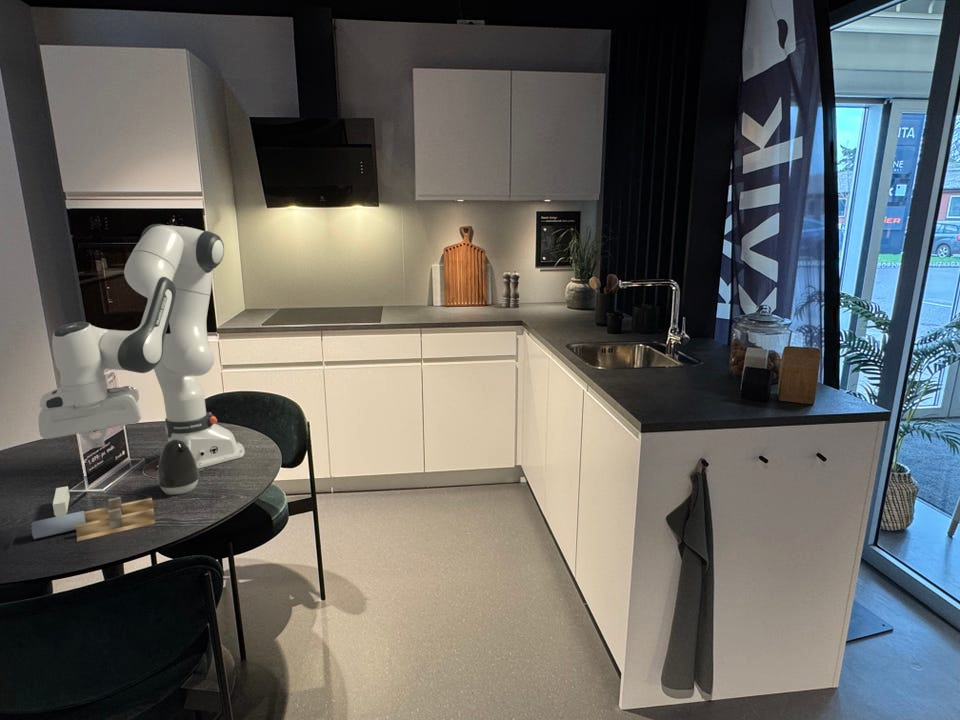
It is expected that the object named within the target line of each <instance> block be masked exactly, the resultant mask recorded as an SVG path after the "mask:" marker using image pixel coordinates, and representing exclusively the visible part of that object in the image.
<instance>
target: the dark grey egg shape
mask: <svg viewBox="0 0 960 720" xmlns="http://www.w3.org/2000/svg"><path fill="white" fill-rule="evenodd" d="M199 478H200V472H199V469H198V467H197V464H196V461H195V459H194V457H193V455H192V453H191V451H190V449H189V448H188V446H187V445H186V444H185V443H184V442H183V441H181V440H171V441H169V442H166V443H165V444H164V446H163V448H162V450H161V453H160V457H159V461H158V467H157V485H158V486H159V487H160V489H161V491H163V493H165V494H166V495H171V496H173V495H174V496H175V495H181V494H182V495H183V494H185V493H189V492H191V491H193V490H194V489H195V488H196V486H197V485H198V483H199Z"/></svg>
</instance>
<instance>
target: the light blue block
mask: <svg viewBox="0 0 960 720" xmlns="http://www.w3.org/2000/svg"><path fill="white" fill-rule="evenodd" d="M84 512H85V511H84V510H82V511H76V512H72V513H66V515H62V516H57V517H56V516H53V517H50V518H49V517H48V518H43V519H40V520H35V521H32V522H31V524H30V525H31V526H30V527H31V535H32V538H33V540H37V539H40V538H41V539H42V538H45V537H50V536H54V535H59V534H64V533H67V532H71V531H76V525H79V524H84V523H86V519H85V514H84Z"/></svg>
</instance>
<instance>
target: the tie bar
mask: <svg viewBox="0 0 960 720" xmlns="http://www.w3.org/2000/svg"><path fill="white" fill-rule="evenodd" d="M70 495H71V494H70V490H69V486H68V485H67V486H62V487H56V488H55V493H54V498H53V501H52V508H53V514H54V517H57V516H62V515H66V514H68V508H69V505H70V504H69V502H70Z"/></svg>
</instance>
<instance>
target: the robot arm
mask: <svg viewBox="0 0 960 720" xmlns="http://www.w3.org/2000/svg"><path fill="white" fill-rule="evenodd" d="M224 255H225V245H224V242H223V240H222V239H221V237H220V236H219V235H218V234H217V233H214V232H212V231H208V230H201V229H198V228H194V227H189V226H180V225H179V226H178V225H177V226H176V225H167V224H166V225H165V224H163V223H153V224H151V225H148V226H147V227H146V228H144V230H143V232H142V233H141V236H140V239H139V241H138V242H137V244H136V245H135V247H134V248H133V250H132V252H131V254H130V255H129V257H128V259H127V261H126V263H125V266H124V271H123V274H124V275H123V276H124V278H125V280H126V282H127V284H128V285H129V286H130V287H131V288H132V290H134V291H135V292H136V293H138V294H139V295H141V296H143V297H144V298H147V303H146V304H145V305H146V306H145V308H144V309H145V310H144V312H143V315H142V318H141V321H140V324H139V326H138V327H137V328H135V329H132V330H119V329H108V328H101V327H97V326H95V325H92V324H91V323H90V322H89V321H88V322H87V321H75V322H70V323H67V324H63V325H61V326H59V327H57V328H56V329H55V330H54V331H53V333H52V338H51V339H52V342H51V345H52V353H53V359H54V362H55V366H56V368H57V370H58V373H59V375H60V379H59V385H60V387H58V388H55V389H53V390H50V391H48V392H46V393H44V394H43V395H42V396H41V398H40V399H39V405H40V408H41V409H40V411H39V415H38V430H39V431H38V432H39V435H40V437H41V438H42V439H44V440H49V439H55V438H56V439H57V438H60V437H67V436H71V435H77V434H80V435H81V438H82V439H83V440H85V441H86V443H88V444H89V445H88V446H89V449H97V448H102V447H105V445H106V444H105V437H106V435H107V433H108V429H109V428H115V427H120V426H126V425H132V424H138V423H139V422H140V421H141V419H142V414H141V410H140V407H139V404H138V402H139V400H140V395H139V391H138V390H137V388H135V387H132V386H129V385H125V386H122V387H121V386H120V387H119V386H118V387H111V388H108V384H107V379H106V374H105V373H104V371H106V370H108V369H109V370H113V371H114V370H116V371H126V372H127V371H128V372H132V373H133V372H134V373H139V374H146V373H149V372H151V371H152V370H153V371H154V373H155V376H156V379H157V381H158V384H159V386H160V389H161V392H162V396H163V403H164V409H165V416H166V418H165V419H164V420H165V423H164V425H165V427H164V428H165V432H166V436H167V441H168V442H169V441H171V440H181V441H183V442H184V443H185V444H186V445H187V446H188V448H189V449H190V451H191V453H192V455H193V457H194V459H195V461H196V464H197V467H198V470H199V469H203V468H205V467H206V468H207V467H210V466H214V465H218V464H221V463H225V462H229V461H233V460H237V459H239V458H243V457H244V455H245V447H244V445H243V444H242V443H240V442H238V441H236V438H235V436H234V434H233V432H232V431H230V429H227V428H226V427H223V426H221V425H219V424H218V423H217V422H218V419H217V417H216V416H215V415H214V414H212V412H210V411H209V412H207V408H206V398H205V392H204V389H203V387H202V385H201V384H200V382H199V381H198V379H197V377H200V376H204V375H206V374H207V373H209V372H210V371H211V369H212V368H213V365H214V364H215V355H214V352H213V349H212V348H211V347H210V344H209V338H208V330H207V329H208V327H207V320H208V319H207V318H208V311H209V307H210V306H209V304H210V298H211V293H212V283H213V281H212V279H213V274H212V273H213V270H214V269H216V268H217V267H218V266H219V265H220V264H221V262H222V261H223V258H224ZM168 327H169V330H170V334H166V333H167V330H168ZM93 431H99V433H100V437H98V438H92V437H91V436H89V434H90V432H93ZM168 442H167V443H168Z"/></svg>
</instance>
